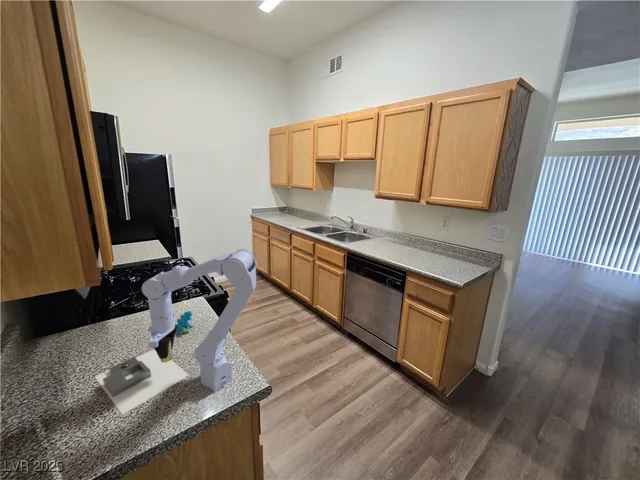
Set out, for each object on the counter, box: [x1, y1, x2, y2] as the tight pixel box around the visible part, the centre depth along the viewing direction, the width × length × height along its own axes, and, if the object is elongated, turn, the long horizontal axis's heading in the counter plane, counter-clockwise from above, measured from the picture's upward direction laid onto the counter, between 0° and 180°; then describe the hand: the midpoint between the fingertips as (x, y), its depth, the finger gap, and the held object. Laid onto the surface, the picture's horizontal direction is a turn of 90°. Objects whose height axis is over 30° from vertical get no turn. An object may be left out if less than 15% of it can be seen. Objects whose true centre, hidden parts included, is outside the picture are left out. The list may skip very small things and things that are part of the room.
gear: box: [175, 310, 194, 335], centre depth 108 cm, size 11×6×10 cm
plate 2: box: [103, 361, 151, 397], centre depth 80 cm, size 7×10×2 cm
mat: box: [94, 348, 190, 415], centre depth 82 cm, size 22×18×1 cm
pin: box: [160, 336, 173, 363], centre depth 81 cm, size 3×3×7 cm
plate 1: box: [108, 357, 151, 390], centre depth 82 cm, size 12×7×2 cm, turn 55°
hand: (166, 353), depth 81 cm, fingers closed on pin, 3 cm apart
